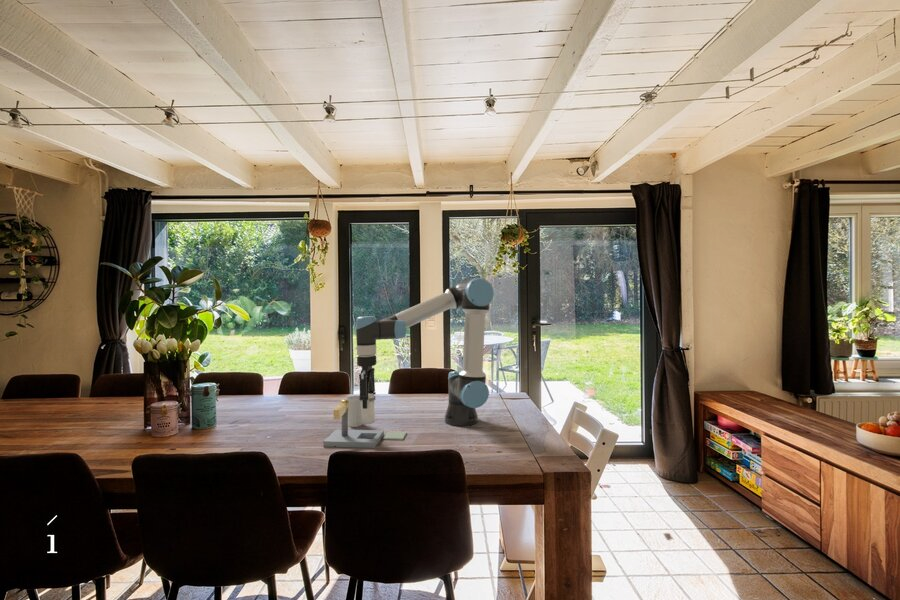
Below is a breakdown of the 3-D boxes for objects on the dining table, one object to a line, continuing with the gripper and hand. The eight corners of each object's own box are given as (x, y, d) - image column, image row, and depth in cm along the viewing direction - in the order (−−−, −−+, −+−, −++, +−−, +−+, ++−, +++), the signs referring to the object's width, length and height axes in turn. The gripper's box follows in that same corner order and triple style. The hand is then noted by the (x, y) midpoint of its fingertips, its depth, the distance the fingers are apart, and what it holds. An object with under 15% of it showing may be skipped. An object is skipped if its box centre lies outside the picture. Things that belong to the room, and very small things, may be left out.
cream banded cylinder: (377, 420, 164) (377, 392, 164) (373, 424, 158) (373, 396, 158) (363, 420, 164) (362, 392, 164) (358, 424, 158) (357, 396, 158)
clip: (340, 419, 149) (340, 408, 149) (332, 419, 149) (331, 408, 149) (349, 409, 163) (349, 399, 163) (341, 409, 163) (341, 399, 163)
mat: (406, 433, 170) (406, 431, 170) (403, 439, 162) (403, 438, 162) (387, 432, 170) (387, 431, 170) (383, 439, 162) (383, 438, 162)
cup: (359, 427, 177) (359, 400, 177) (342, 426, 179) (342, 399, 178) (367, 422, 185) (367, 396, 185) (350, 421, 186) (350, 395, 186)
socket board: (383, 435, 168) (383, 406, 167) (375, 447, 154) (374, 416, 153) (336, 434, 169) (336, 405, 169) (323, 446, 155) (323, 415, 155)
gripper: (364, 352, 170) (365, 407, 171) (349, 359, 151) (351, 421, 152) (381, 351, 170) (383, 407, 170) (369, 359, 151) (371, 421, 151)
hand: (368, 413), depth 161 cm, fingers closed on cream banded cylinder, 6 cm apart
